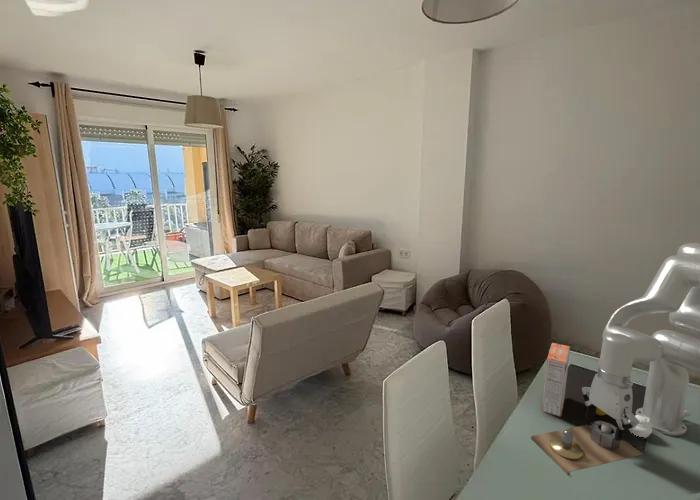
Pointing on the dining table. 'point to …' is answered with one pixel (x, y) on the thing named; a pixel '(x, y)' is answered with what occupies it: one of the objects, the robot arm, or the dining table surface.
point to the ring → (604, 436)
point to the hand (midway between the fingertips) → (604, 428)
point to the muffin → (641, 427)
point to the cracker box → (556, 379)
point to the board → (585, 449)
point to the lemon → (600, 411)
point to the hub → (566, 446)
